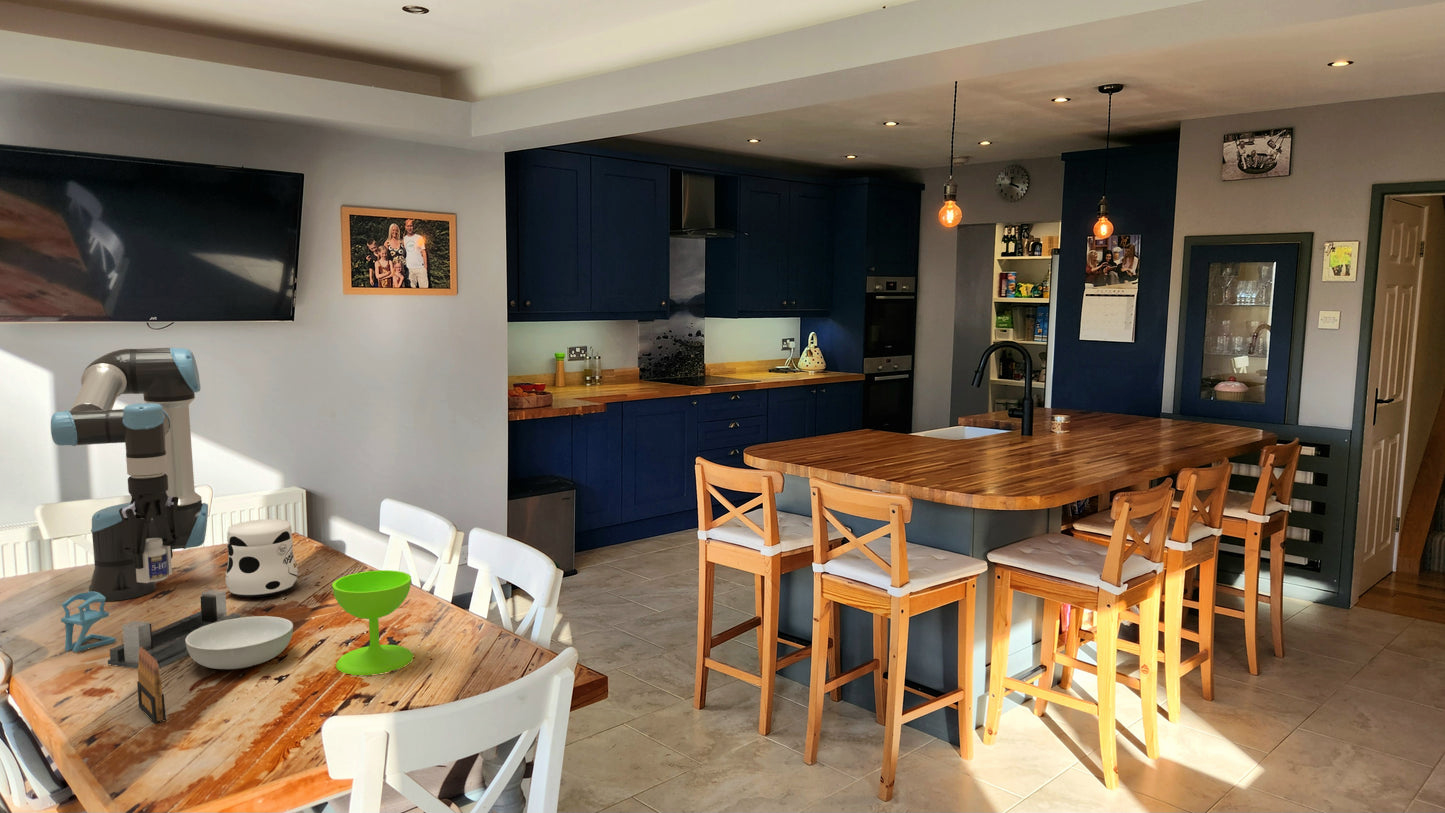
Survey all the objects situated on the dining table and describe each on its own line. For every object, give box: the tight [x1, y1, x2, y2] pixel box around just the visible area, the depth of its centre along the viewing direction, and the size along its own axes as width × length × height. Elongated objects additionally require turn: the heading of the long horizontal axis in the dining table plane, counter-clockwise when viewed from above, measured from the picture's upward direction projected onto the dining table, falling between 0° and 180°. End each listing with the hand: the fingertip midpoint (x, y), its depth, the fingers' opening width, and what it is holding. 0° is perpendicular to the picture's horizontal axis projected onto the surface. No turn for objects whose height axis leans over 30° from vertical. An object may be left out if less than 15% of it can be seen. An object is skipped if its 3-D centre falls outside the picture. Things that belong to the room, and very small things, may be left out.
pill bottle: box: [144, 538, 169, 583], centre depth 210 cm, size 5×5×9 cm
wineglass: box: [331, 569, 414, 675], centre depth 206 cm, size 16×16×18 cm
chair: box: [60, 591, 117, 653], centre depth 214 cm, size 8×8×12 cm
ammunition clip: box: [136, 647, 167, 724], centre depth 180 cm, size 11×2×12 cm, turn 45°
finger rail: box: [107, 589, 241, 669], centre depth 215 cm, size 26×12×9 cm, turn 166°
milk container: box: [224, 518, 299, 598], centre depth 253 cm, size 17×17×18 cm
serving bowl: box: [185, 615, 294, 670], centre depth 206 cm, size 21×21×7 cm
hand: (154, 577), depth 210 cm, fingers closed on pill bottle, 5 cm apart
